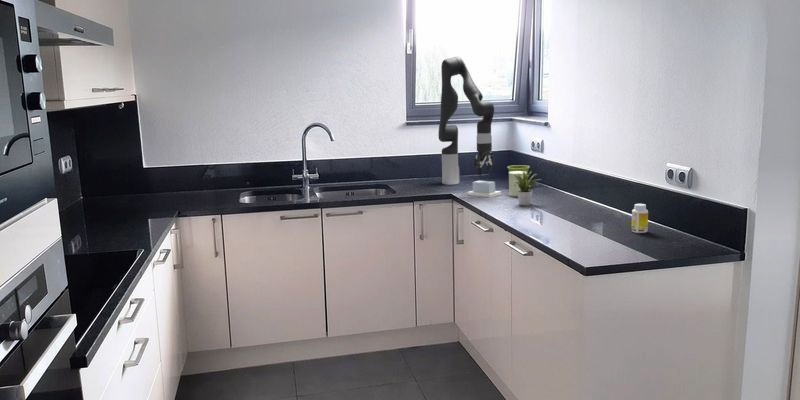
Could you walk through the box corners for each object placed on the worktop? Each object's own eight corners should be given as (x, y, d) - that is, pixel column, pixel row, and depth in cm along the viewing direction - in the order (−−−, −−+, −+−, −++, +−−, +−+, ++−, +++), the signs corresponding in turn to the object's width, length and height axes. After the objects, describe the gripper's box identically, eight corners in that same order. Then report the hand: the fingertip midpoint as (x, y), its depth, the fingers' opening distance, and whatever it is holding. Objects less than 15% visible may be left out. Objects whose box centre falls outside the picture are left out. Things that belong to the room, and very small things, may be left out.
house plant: (523, 209, 282) (523, 172, 279) (501, 204, 294) (501, 170, 291) (545, 204, 290) (545, 169, 287) (524, 200, 301) (524, 166, 298)
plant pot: (502, 187, 341) (502, 167, 339) (516, 184, 348) (516, 164, 346) (520, 189, 332) (520, 168, 330) (534, 186, 340) (534, 166, 338)
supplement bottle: (650, 231, 233) (650, 204, 232) (643, 234, 229) (644, 206, 228) (635, 229, 237) (635, 202, 235) (628, 232, 233) (629, 205, 231)
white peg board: (478, 192, 330) (478, 183, 329) (501, 194, 321) (501, 185, 320) (467, 194, 323) (467, 186, 322) (490, 197, 314) (489, 188, 313)
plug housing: (479, 189, 327) (478, 180, 326) (495, 191, 320) (495, 181, 319) (472, 191, 323) (472, 182, 322) (489, 193, 316) (489, 183, 315)
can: (530, 195, 315) (530, 171, 313) (515, 197, 312) (514, 173, 310) (520, 192, 324) (520, 169, 321) (505, 194, 320) (505, 171, 318)
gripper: (485, 140, 325) (486, 171, 328) (469, 143, 314) (470, 175, 318) (498, 140, 320) (498, 172, 323) (482, 143, 309) (482, 176, 313)
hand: (484, 173), depth 320 cm, fingers open, 8 cm apart
